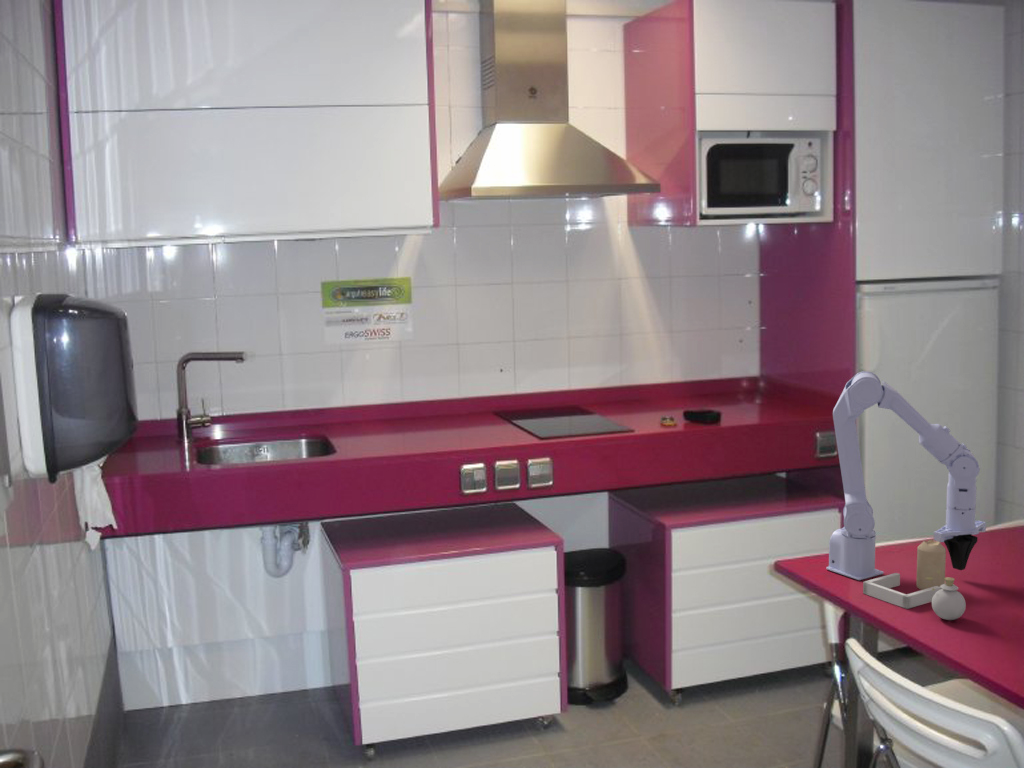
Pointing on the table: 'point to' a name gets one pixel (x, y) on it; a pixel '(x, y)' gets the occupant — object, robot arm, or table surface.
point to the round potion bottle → (948, 600)
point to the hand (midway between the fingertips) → (958, 568)
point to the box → (882, 592)
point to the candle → (930, 564)
